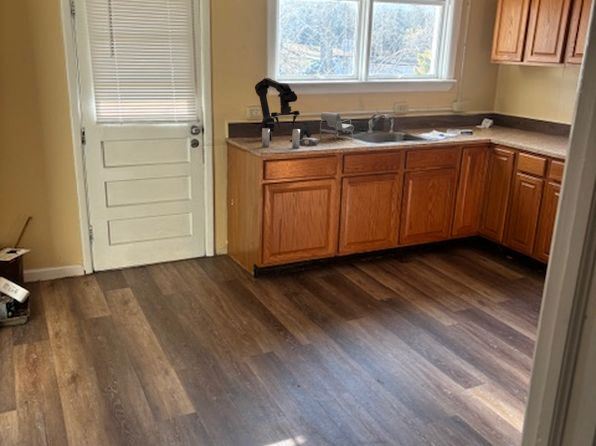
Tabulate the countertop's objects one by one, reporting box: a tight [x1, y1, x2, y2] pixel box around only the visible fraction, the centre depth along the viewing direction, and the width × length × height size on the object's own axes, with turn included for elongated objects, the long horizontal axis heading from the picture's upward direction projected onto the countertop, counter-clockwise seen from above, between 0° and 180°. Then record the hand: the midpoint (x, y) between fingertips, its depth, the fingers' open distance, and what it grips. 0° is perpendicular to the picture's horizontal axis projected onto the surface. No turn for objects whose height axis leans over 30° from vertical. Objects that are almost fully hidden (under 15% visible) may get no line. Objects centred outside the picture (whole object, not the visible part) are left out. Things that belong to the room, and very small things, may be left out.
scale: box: [299, 137, 321, 147], centre depth 392 cm, size 12×15×4 cm
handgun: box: [300, 121, 312, 140], centre depth 412 cm, size 2×17×12 cm, turn 149°
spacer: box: [261, 128, 270, 149], centre depth 374 cm, size 5×5×12 cm
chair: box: [319, 111, 355, 143], centre depth 415 cm, size 13×25×20 cm, turn 143°
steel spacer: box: [291, 128, 301, 150], centre depth 374 cm, size 5×5×12 cm
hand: (286, 127), depth 382 cm, fingers open, 9 cm apart
